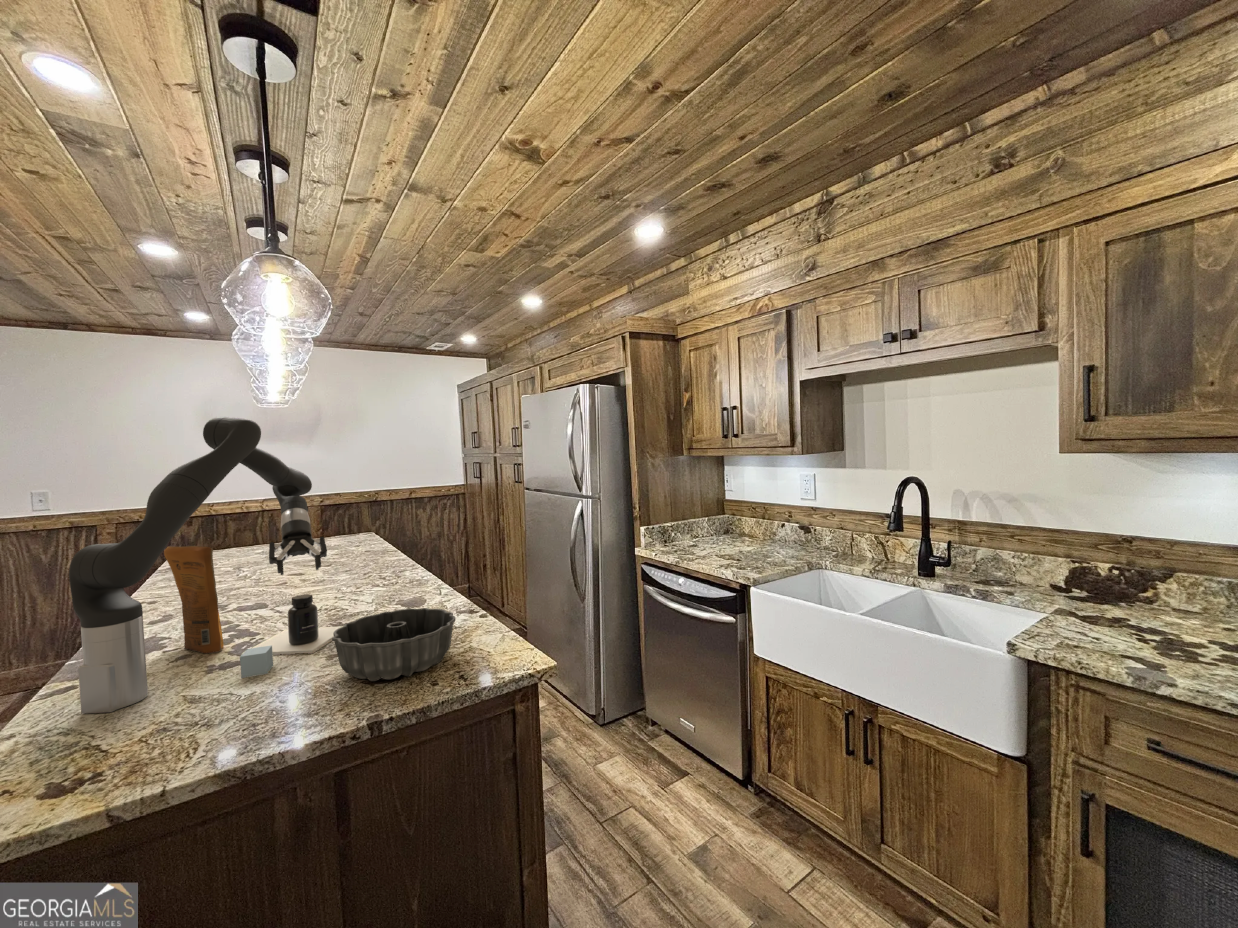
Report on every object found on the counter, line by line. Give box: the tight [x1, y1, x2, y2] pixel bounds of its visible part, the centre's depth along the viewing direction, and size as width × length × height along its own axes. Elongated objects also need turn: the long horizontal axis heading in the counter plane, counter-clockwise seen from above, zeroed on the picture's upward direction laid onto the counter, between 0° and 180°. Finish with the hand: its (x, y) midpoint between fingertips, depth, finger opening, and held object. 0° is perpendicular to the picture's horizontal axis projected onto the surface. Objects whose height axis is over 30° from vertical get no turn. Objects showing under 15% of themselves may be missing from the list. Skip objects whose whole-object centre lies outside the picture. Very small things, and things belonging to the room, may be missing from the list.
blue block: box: [239, 645, 274, 679], centre depth 120 cm, size 5×5×5 cm
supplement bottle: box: [287, 594, 319, 645], centre depth 137 cm, size 7×7×12 cm
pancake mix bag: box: [163, 545, 225, 654], centre depth 137 cm, size 7×19×28 cm, turn 63°
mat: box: [240, 625, 344, 656], centre depth 139 cm, size 18×18×1 cm
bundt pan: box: [331, 607, 456, 682], centre depth 120 cm, size 26×26×10 cm
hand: (300, 570), depth 146 cm, fingers open, 8 cm apart
